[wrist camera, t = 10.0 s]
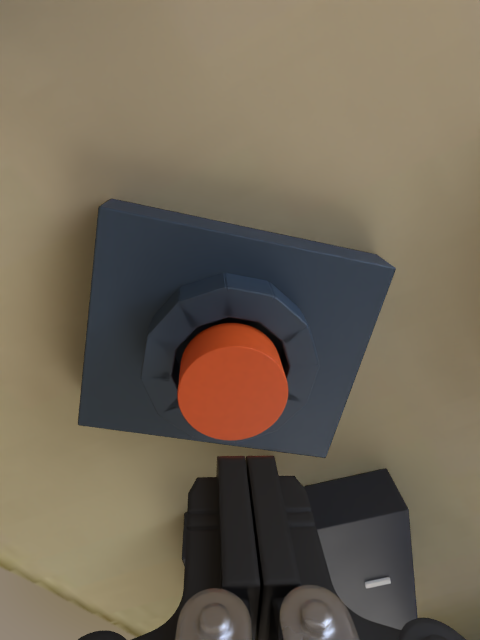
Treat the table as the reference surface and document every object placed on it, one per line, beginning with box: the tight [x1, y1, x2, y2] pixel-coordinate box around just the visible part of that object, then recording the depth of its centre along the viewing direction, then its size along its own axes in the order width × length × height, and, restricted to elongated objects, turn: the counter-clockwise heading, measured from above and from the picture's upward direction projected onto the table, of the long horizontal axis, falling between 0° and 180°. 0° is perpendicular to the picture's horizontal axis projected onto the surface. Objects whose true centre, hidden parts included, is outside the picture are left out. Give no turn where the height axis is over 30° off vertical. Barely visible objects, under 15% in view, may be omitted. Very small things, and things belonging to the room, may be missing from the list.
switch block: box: [78, 199, 396, 458], centre depth 19 cm, size 12×10×4 cm
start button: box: [177, 323, 288, 440], centre depth 16 cm, size 4×4×2 cm
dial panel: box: [182, 469, 417, 630], centre depth 26 cm, size 12×10×3 cm
